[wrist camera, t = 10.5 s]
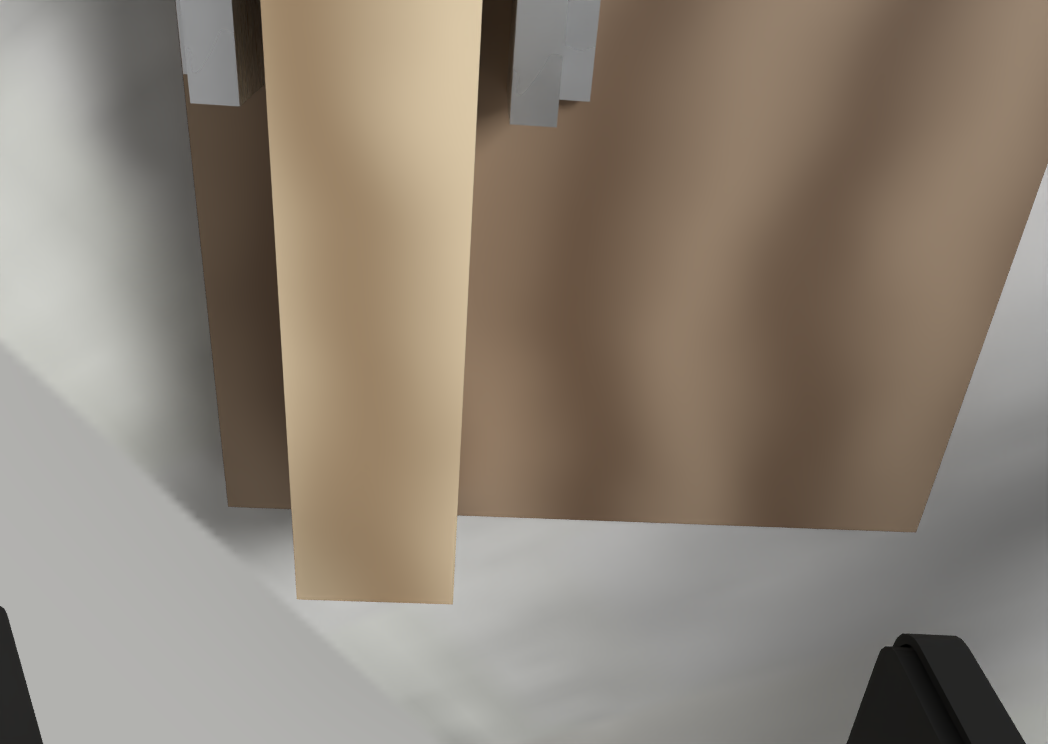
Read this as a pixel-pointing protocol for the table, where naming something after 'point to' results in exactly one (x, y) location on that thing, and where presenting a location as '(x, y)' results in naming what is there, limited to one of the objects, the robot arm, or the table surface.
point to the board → (696, 262)
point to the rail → (373, 283)
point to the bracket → (533, 68)
